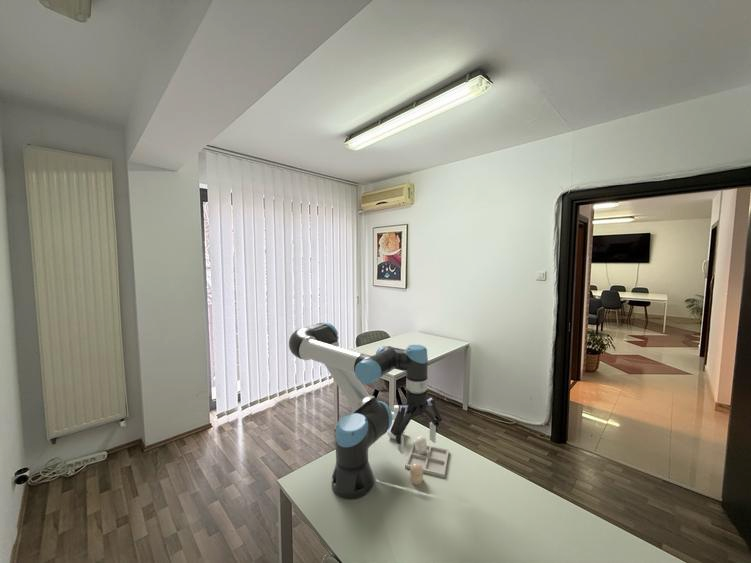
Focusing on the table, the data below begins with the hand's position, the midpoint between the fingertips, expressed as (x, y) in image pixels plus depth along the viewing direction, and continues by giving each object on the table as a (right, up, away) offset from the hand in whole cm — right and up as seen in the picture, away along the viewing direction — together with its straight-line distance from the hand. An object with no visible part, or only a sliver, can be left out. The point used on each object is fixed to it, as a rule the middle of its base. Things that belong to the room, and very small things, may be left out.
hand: (417, 446), depth 106 cm
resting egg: (+4, -12, +16) cm, 20 cm away
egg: (0, -14, +1) cm, 14 cm away
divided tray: (+6, -13, +12) cm, 18 cm away
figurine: (-5, -12, +28) cm, 31 cm away
